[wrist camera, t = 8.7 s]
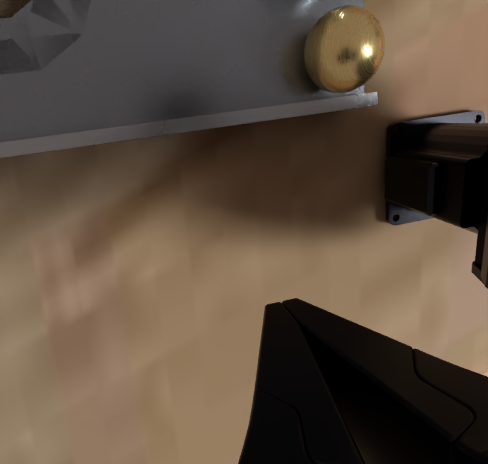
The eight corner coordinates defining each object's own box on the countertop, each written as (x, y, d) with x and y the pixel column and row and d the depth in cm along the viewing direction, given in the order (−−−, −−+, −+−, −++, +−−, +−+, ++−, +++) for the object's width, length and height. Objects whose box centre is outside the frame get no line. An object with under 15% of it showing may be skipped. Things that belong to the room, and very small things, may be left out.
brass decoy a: (329, 20, 17) (400, 2, 14) (329, 94, 18) (395, 88, 16) (287, 11, 15) (363, -12, 12) (289, 97, 16) (359, 90, 13)
